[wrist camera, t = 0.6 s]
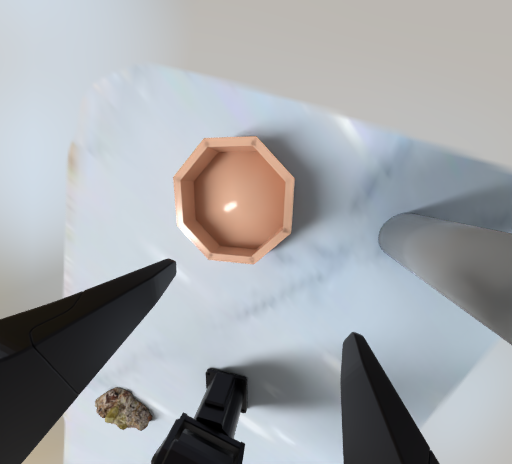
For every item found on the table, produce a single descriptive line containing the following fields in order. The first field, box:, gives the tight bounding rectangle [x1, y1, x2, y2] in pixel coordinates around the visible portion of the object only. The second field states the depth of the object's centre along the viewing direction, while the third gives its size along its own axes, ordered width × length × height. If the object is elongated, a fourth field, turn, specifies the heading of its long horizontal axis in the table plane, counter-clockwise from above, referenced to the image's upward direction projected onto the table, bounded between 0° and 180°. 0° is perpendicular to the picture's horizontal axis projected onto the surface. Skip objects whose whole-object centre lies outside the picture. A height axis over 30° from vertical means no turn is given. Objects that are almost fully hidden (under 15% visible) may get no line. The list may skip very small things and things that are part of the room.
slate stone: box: [378, 213, 512, 345], centre depth 14 cm, size 5×5×12 cm
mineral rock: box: [95, 388, 152, 431], centre depth 35 cm, size 11×4×8 cm
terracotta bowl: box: [173, 136, 295, 264], centre depth 21 cm, size 13×13×4 cm
